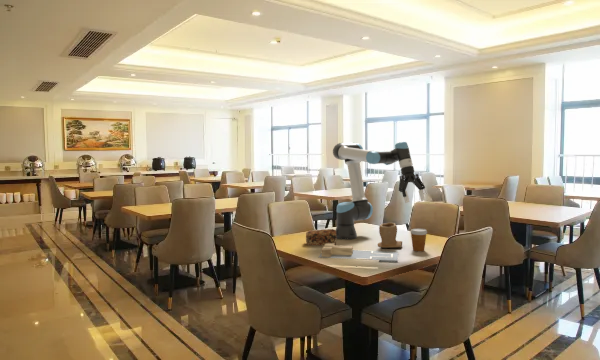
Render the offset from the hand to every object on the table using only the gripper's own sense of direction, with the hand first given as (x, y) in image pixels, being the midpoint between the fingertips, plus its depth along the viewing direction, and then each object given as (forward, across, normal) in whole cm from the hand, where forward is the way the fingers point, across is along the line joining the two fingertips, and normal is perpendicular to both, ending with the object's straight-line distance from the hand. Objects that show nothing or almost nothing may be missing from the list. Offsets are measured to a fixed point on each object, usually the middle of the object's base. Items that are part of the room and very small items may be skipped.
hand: (415, 201), depth 255 cm
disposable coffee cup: (+28, -3, +4) cm, 29 cm away
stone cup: (+24, -11, +18) cm, 32 cm away
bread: (+14, -40, +46) cm, 63 cm away
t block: (+21, -48, +21) cm, 57 cm away
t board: (+25, -40, +13) cm, 49 cm away
